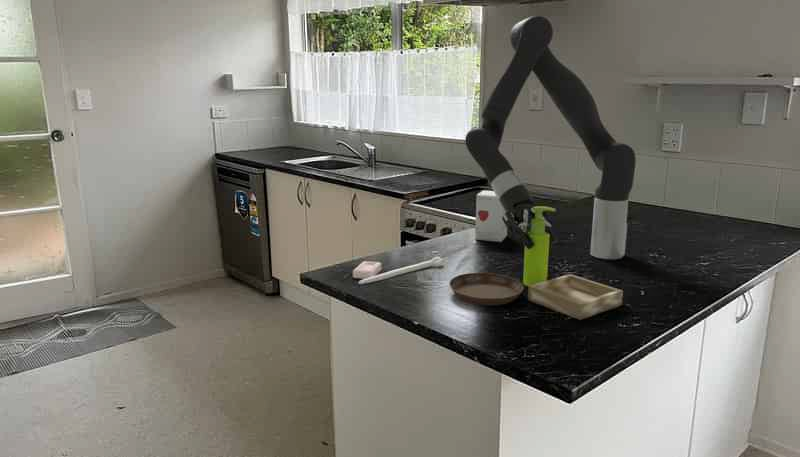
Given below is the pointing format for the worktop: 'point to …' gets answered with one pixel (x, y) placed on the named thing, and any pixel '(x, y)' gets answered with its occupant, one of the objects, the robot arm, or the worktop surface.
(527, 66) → the robot arm
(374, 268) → the soap bar
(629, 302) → the worktop surface
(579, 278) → the birch crate
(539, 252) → the soap dispenser
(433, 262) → the white ball-headed stick
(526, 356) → the worktop surface
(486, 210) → the supplement box
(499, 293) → the plant saucer
